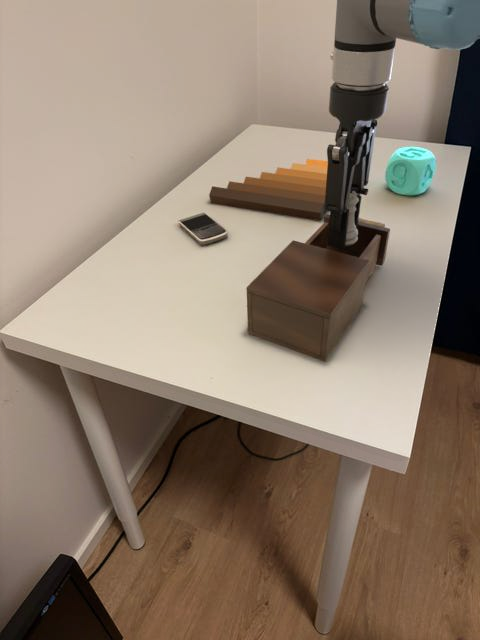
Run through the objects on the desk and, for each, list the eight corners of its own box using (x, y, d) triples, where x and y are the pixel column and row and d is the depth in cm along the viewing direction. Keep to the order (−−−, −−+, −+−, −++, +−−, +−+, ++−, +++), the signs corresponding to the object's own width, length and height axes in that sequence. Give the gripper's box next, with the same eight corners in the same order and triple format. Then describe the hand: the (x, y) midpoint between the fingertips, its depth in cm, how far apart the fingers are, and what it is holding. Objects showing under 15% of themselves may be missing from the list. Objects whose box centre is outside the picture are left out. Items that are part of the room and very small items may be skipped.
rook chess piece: (326, 244, 77) (330, 197, 72) (333, 231, 81) (337, 186, 76) (354, 249, 76) (360, 201, 71) (360, 235, 79) (366, 189, 74)
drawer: (334, 235, 93) (337, 202, 89) (393, 249, 88) (399, 215, 84) (291, 284, 81) (292, 249, 77) (356, 304, 76) (361, 268, 72)
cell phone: (202, 248, 93) (201, 241, 92) (176, 225, 100) (176, 219, 99) (229, 238, 95) (229, 232, 94) (203, 216, 102) (202, 210, 101)
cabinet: (291, 283, 83) (292, 239, 77) (362, 305, 77) (369, 260, 72) (247, 333, 73) (246, 287, 68) (325, 362, 68) (330, 314, 62)
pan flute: (209, 204, 107) (319, 222, 99) (208, 189, 105) (321, 207, 97) (252, 162, 124) (348, 174, 116) (251, 149, 122) (350, 161, 114)
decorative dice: (431, 186, 110) (439, 151, 104) (415, 199, 105) (423, 163, 100) (399, 177, 114) (405, 143, 109) (382, 189, 109) (387, 154, 104)
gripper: (356, 65, 71) (340, 211, 86) (305, 97, 59) (297, 258, 74) (407, 70, 67) (382, 220, 82) (363, 104, 56) (343, 271, 71)
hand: (342, 238), depth 78 cm, fingers closed on rook chess piece, 4 cm apart
